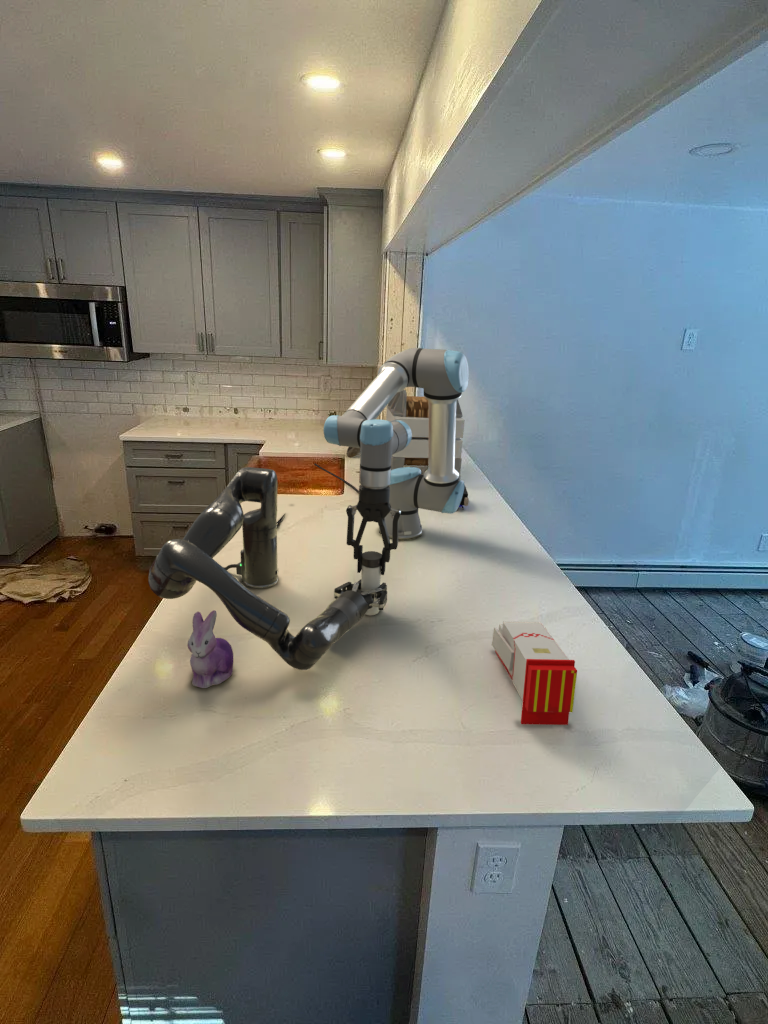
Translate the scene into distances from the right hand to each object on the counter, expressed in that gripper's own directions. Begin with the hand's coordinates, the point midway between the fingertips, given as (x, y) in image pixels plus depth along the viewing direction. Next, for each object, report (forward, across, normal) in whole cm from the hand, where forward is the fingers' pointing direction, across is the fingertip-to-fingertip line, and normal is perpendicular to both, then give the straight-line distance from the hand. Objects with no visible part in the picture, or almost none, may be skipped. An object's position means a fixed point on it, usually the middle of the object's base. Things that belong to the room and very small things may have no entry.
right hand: (371, 571), depth 145 cm
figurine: (+11, +28, +34) cm, 46 cm away
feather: (+11, +42, -62) cm, 75 cm away
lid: (-4, 0, 0) cm, 4 cm away
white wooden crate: (+11, -4, -136) cm, 136 cm away
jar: (+11, 0, 0) cm, 11 cm away
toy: (+11, -38, +24) cm, 46 cm away
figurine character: (+11, -22, -91) cm, 94 cm away
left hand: (+5, -1, -2) cm, 5 cm away
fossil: (+11, +32, -165) cm, 169 cm away
